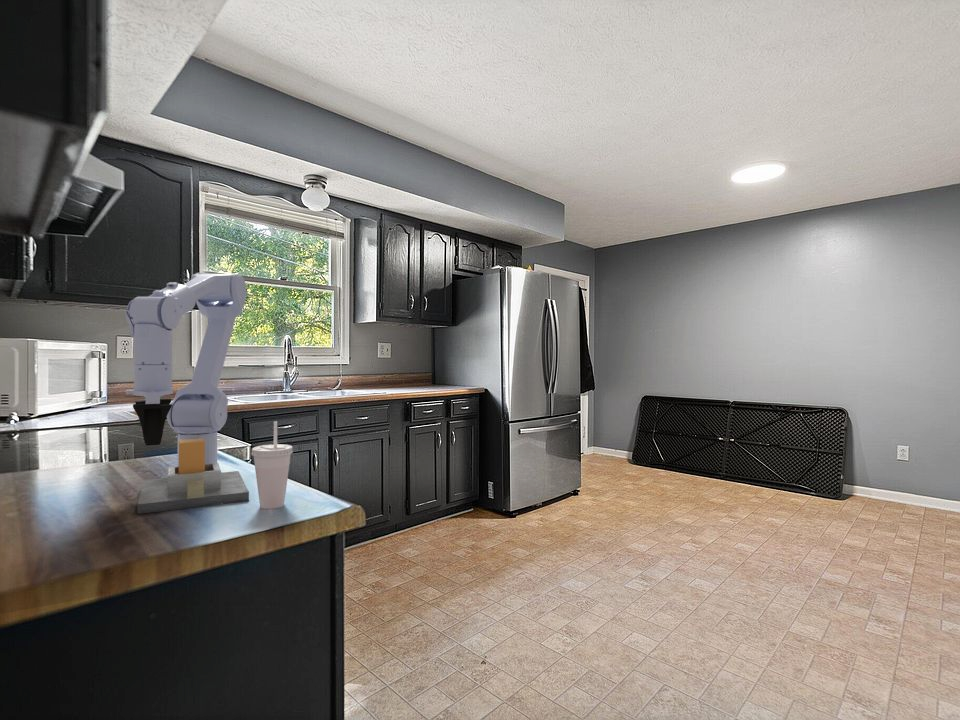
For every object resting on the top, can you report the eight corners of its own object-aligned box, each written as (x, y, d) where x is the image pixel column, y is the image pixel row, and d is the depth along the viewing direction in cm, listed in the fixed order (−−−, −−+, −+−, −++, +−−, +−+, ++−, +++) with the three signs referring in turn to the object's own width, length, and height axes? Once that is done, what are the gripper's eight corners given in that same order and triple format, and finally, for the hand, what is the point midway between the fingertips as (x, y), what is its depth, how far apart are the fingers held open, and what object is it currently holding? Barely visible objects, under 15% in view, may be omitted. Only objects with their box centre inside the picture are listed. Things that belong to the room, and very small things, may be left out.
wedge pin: (179, 484, 95) (179, 440, 94) (204, 482, 96) (204, 438, 96) (178, 489, 91) (178, 443, 91) (204, 486, 93) (204, 441, 93)
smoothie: (278, 512, 83) (278, 424, 83) (242, 510, 85) (242, 423, 85) (300, 501, 90) (300, 419, 90) (266, 499, 91) (266, 418, 91)
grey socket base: (143, 487, 98) (143, 463, 98) (238, 478, 106) (238, 456, 106) (137, 514, 82) (137, 485, 82) (248, 500, 90) (249, 474, 90)
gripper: (128, 363, 97) (128, 437, 97) (123, 365, 85) (123, 450, 85) (172, 363, 101) (172, 434, 101) (174, 365, 88) (174, 446, 88)
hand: (153, 441), depth 93 cm, fingers open, 7 cm apart
